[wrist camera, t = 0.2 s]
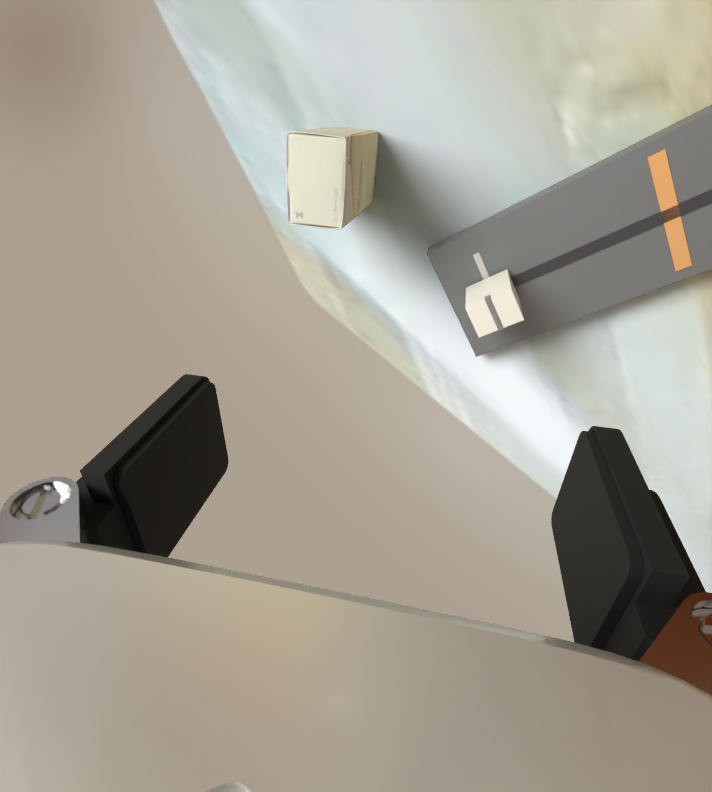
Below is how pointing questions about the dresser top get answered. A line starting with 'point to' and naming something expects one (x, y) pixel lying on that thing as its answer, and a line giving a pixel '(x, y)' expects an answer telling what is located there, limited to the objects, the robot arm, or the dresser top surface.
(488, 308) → the fader tab
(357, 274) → the dresser top surface
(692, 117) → the fader board
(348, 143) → the skincare box
